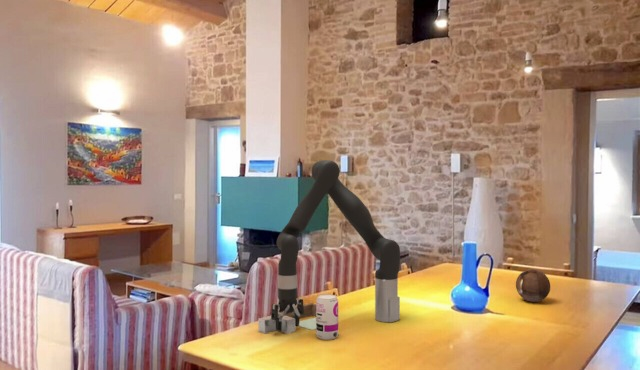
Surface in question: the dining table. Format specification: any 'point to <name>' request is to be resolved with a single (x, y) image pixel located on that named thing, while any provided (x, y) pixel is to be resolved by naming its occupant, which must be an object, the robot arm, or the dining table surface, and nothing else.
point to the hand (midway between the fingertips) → (287, 328)
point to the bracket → (270, 325)
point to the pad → (308, 324)
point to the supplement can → (327, 317)
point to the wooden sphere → (533, 285)
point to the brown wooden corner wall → (305, 311)
